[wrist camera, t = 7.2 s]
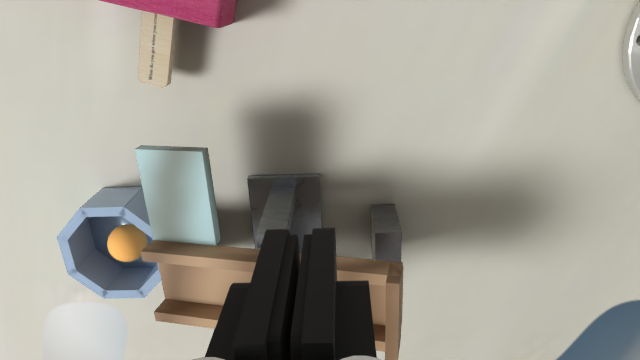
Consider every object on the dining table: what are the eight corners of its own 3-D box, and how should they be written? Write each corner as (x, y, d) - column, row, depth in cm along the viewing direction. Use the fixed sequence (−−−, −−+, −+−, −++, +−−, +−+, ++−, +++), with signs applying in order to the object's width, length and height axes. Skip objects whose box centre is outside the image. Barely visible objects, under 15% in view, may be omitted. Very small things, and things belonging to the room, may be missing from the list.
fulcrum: (394, 171, 39) (410, 221, 31) (393, 273, 43) (406, 342, 35) (175, 178, 40) (133, 228, 32) (192, 277, 44) (159, 345, 36)
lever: (406, 155, 28) (401, 174, 25) (401, 329, 33) (397, 362, 30) (141, 145, 33) (111, 161, 30) (172, 301, 38) (150, 327, 35)
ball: (124, 238, 38) (94, 232, 39) (131, 272, 39) (103, 265, 40) (151, 220, 41) (123, 215, 42) (158, 253, 42) (131, 246, 43)
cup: (172, 185, 41) (155, 206, 37) (187, 270, 44) (173, 297, 40) (74, 188, 41) (48, 208, 37) (97, 272, 44) (75, 298, 41)
